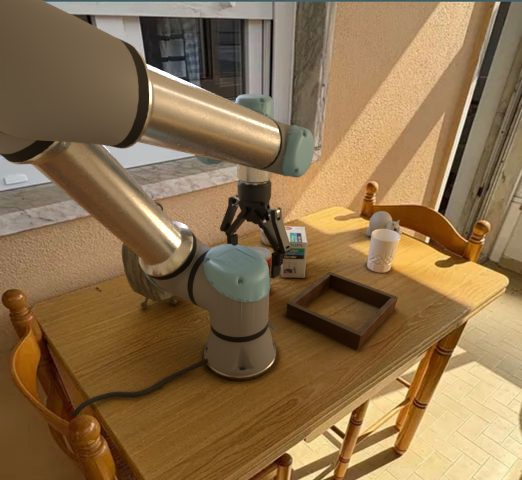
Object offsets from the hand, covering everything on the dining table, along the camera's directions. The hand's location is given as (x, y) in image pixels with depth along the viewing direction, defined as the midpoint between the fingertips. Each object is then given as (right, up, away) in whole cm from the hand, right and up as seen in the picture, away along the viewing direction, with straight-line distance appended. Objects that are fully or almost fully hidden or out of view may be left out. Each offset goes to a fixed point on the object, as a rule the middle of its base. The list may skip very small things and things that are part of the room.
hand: (253, 267), depth 97 cm
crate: (+22, -12, -3) cm, 25 cm away
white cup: (+36, +3, +15) cm, 40 cm away
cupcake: (+5, +14, +27) cm, 31 cm away
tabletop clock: (-22, -9, +1) cm, 24 cm away
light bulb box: (+11, +3, +14) cm, 18 cm away
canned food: (0, -5, +5) cm, 7 cm away
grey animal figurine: (+42, +15, +29) cm, 54 cm away
